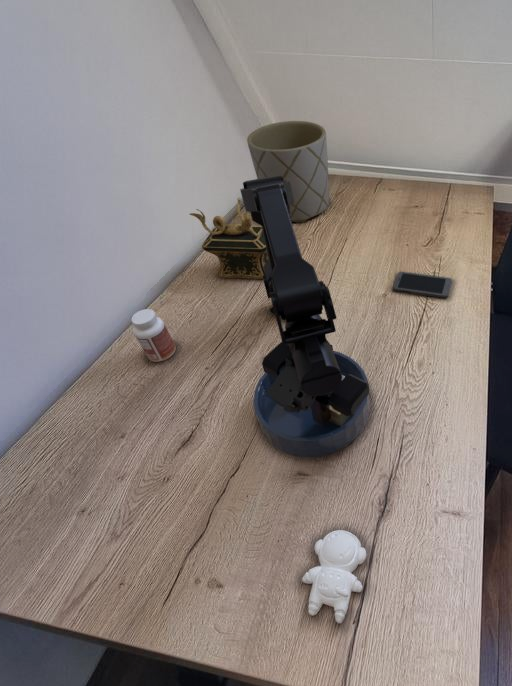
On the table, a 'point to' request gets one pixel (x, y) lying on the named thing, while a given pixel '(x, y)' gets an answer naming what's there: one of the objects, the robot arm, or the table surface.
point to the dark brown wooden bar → (320, 413)
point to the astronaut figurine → (335, 572)
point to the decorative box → (236, 246)
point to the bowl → (308, 419)
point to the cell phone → (422, 284)
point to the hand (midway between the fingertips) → (320, 406)
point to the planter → (294, 163)
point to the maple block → (337, 417)
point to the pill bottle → (153, 335)
